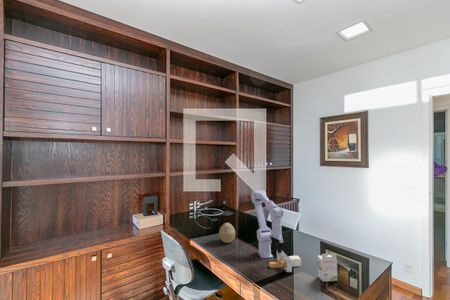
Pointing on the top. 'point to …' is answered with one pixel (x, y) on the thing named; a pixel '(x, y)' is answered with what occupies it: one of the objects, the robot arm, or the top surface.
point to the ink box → (327, 267)
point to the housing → (285, 261)
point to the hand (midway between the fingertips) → (277, 249)
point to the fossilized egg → (227, 233)
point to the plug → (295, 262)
